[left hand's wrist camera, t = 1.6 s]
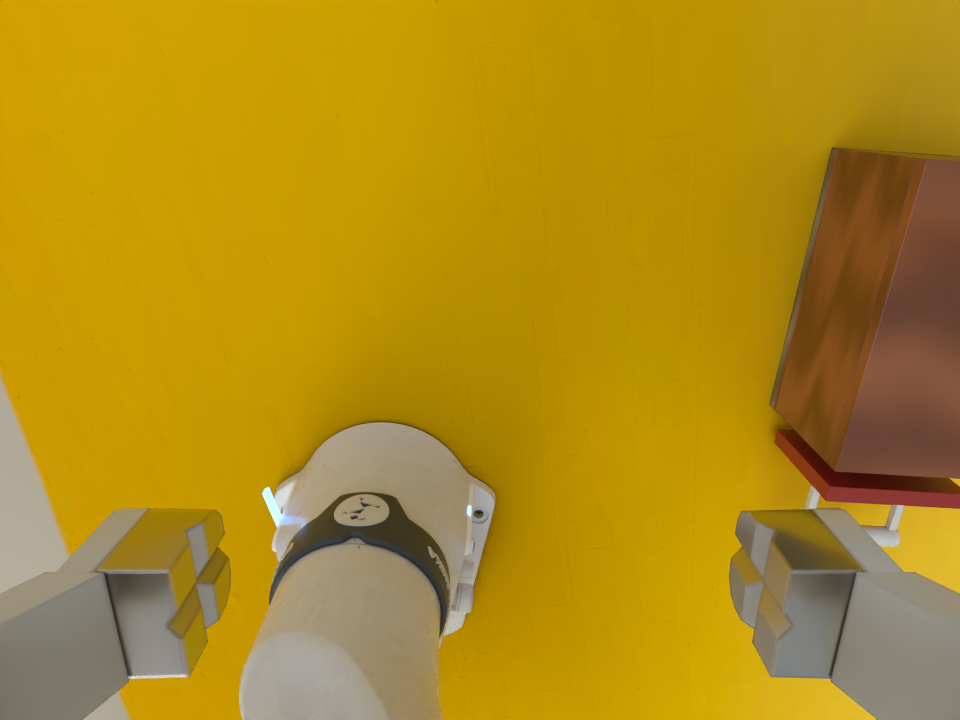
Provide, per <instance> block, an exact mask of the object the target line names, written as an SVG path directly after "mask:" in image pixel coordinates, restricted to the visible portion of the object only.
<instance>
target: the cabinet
mask: <svg viewBox="0 0 960 720" xmlns="http://www.w3.org/2000/svg"><path fill="white" fill-rule="evenodd" d="M770 406H771V407H772V408H773V409H775V410H776V411H777V412H778V413H779V414H780V415H781V416H782V417H783V418H784V420H785V421H786V422H787V423H788V424H789V425H790V426H791V427H792V428H793V429H794V430H795V431H796V432H797V433H798V434H799V435H800V436H801V437H802V438H803V439H804V440H805V441H806V442H807V443H808V444H809V445H810V446H811V447H812V448H813V449H814V450H815V451H816V452H817V453H818V454H819V455H820V457H821V458H822V459H823V460H824V461H825V462H826V463H827V464H829V466H830V467H831V468H832V469H833V470H834V471H836V472H853V473H870V474H887V475H905V476H922V477H939V478H957V479H960V156H946V155H932V154H917V153H903V152H888V151H873V150H859V149H844V148H832V150H831V154H830V159H829V163H828V167H827V171H826V175H825V179H824V183H823V187H822V191H821V196H820V200H819V204H818V208H817V212H816V216H815V220H814V224H813V228H812V233H811V237H810V241H809V245H808V249H807V253H806V257H805V261H804V265H803V269H802V274H801V278H800V282H799V286H798V290H797V294H796V298H795V302H794V306H793V311H792V315H791V319H790V323H789V327H788V331H787V335H786V339H785V343H784V347H783V352H782V356H781V360H780V364H779V368H778V372H777V376H776V380H775V384H774V389H773V393H772V397H771V401H770Z"/></svg>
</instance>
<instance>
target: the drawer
mask: <svg viewBox="0 0 960 720" xmlns="http://www.w3.org/2000/svg"><path fill="white" fill-rule="evenodd" d="M775 444H776V445H777V446H778V447H779V448H780V449H781V450H782V452H783V453H784V454H785V455H786V456H787V457H788V458H789V460H790V461H791V462H792V463H793V464H794V465H795V466H796V468H797V469H798V470H799V471H800V472H801V473H802V474H803V476H804V477H805V478H806V479H807V480H808V481H809V482H810V484H811V486H810V490H809V493H808V497H807V500H806V504H805V508H804V509H816V507H817V504H818V500H819V497H820V495H821V496H822V497H823V498H824V499H825V501H834V502H851V503H869V504H887V505H892V507H891V509H890V512H889V515H888V518H887V521H886V524H885V526H886V527H884V526H867V525H860V526H861V527H862V528H863V529H864V530H865V531H866V532H867V533H868V534H869V535H870V537H871V538H872V539H873V540H874V541H875V542H876V543H877V544H878V545H879V546H886V547H896V546H898V545H899V542H900V534H899V532H898V530H897V527H898V524H899V521H900V518H901V516H902V513H903V510H904V507H905V506H922V507H939V508H957V509H960V487H959V486H958V485H957V484H956V483H954V482H953V481H952V480H951V479H949V478H939V477H922V476H905V475H887V474H870V473H853V472H836V471H834V470H833V469H832V468H831V467H830V466H829V464H827V463H826V462H825V461H824V460H823V459H822V458H821V457H820V455H819V454H818V453H817V452H816V451H815V450H814V449H813V448H812V447H811V446H810V445H809V444H808V443H807V442H806V441H805V440H804V439H803V438H802V437H801V436H800V435H799V434H798V433H797V432H796V431H792V430H777V434H776V438H775Z"/></svg>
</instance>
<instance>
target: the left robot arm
mask: <svg viewBox="0 0 960 720" xmlns="http://www.w3.org/2000/svg"><path fill="white" fill-rule="evenodd" d="M262 494H263V496H264V499H265V501H266V503H267V505H268V508H269V510H270V512H271V514H272V517H273V519H274V521H275V523H276V526H277V530H276V533H275V535H274V538H273V542H272V550H273V551H275V552H276V555H277V559H278V562H279V563H278V565H277V568H276V571H275V573H274V574H275V575H274V577H273V582H272V586H271V590H270V596H269V608H268V611H267V613H266V615H265V618H264V620H263V623H262V625H261V627H260V630H259V632H258V634H257V637H256V639H255V641H254V644H253V646H252V648H251V651H250V653H249V655H248V658H247V660H246V662H245V665H244V668H243V671H242V675H241V680H240V688H239V705H240V711H241V716H242V720H444V717H443V714H442V710H441V704H440V696H439V677H438V653H439V648H440V647H441V645H442V641H443V637H444V636H445V635H448V634H450V633H453V632H455V631H457V630H458V629H460V628H461V627H462V625H463V623H464V619H465V616H466V613H468V612H469V613H470V611H471V607H472V602H473V594H474V582H475V578H476V575H477V571H478V567H479V563H480V560H481V556H482V552H483V548H484V545H485V541H486V537H487V533H488V530H489V526H490V522H491V519H492V515H493V511H494V507H495V501H496V496H495V493H494V491H493V490H492V489H491V488H490V487H489V486H487V485H486V484H484V483H483V482H481V481H480V480H478V479H476V478H475V477H473V476H471V475H470V474H469V473H468V472H466V470H465V469H464V468H463V467H462V465H461V464H460V463H459V461H458V460H457V458H456V457H455V456H454V455H453V453H452V452H451V451H450V450H449V449H448V448H447V447H446V446H445V445H443V444H442V443H441V442H440V441H438V440H437V439H435V438H434V437H432V436H431V435H429V434H427V433H425V432H423V431H421V430H419V429H416V428H413V427H410V426H406V425H402V424H397V423H389V422H374V423H366V424H361V425H356V426H353V427H350V428H347V429H345V430H343V431H341V432H339V433H337V434H335V435H334V436H332V437H330V438H329V439H328V440H327V441H325V442H324V443H323V444H322V445H321V446H320V447H319V448H318V449H317V450H316V451H315V453H314V454H313V456H312V457H311V458H310V460H309V461H308V463H307V464H306V466H305V467H304V468H303V469H302V470H301V471H300V472H298V473H296V474H295V475H293V476H291V477H289V478H288V479H286V480H285V481H283V482H282V483H281V484H280V485H279V486H278V487H277V489H276V492H275V495H274V498H273V496H272V493H271V491H270V489H269V488H265V490H264V491H263V493H262ZM476 510H481V511H483V512H482V513H480V514H478V513H475V511H476ZM224 535H225V531H224V526H223V521H222V516H221V515H220V514H219V513H218V512H217V511H216V510H200V509H150V508H125V509H119V510H115V511H113V512H112V513H111V514H110V515H109V516H108V517H107V519H106V520H105V521H104V522H103V523H102V524H101V525H100V526H99V527H98V528H97V529H96V530H95V531H94V532H93V533H92V534H91V536H90V537H89V538H88V539H87V540H86V541H85V542H84V543H83V544H82V545H81V546H80V547H79V548H78V549H77V550H76V551H75V553H74V554H73V555H72V556H71V557H70V558H69V559H68V560H67V561H66V562H65V563H64V564H63V565H62V566H61V567H60V568H59V570H58V571H57V572H45V573H43V574H41V575H39V576H37V577H34V578H32V579H30V580H28V581H26V582H24V583H22V584H20V585H18V586H15V587H13V588H11V589H9V590H7V591H5V592H3V593H1V594H0V720H83V719H84V718H85V717H86V716H88V715H89V714H90V713H91V712H93V711H94V710H95V709H96V708H98V707H99V706H100V705H101V704H102V703H104V702H105V701H106V700H107V699H109V698H110V697H111V696H112V695H113V694H115V693H116V692H117V691H119V690H120V689H121V688H122V687H123V686H125V685H126V684H127V683H128V682H129V679H134V678H168V677H190V675H191V673H192V671H193V669H194V667H195V665H196V663H197V661H198V659H199V658H200V656H201V654H202V652H203V650H204V648H205V646H206V644H207V642H208V640H207V634H206V628H208V627H209V626H211V625H212V624H214V623H215V622H217V621H218V620H219V619H220V617H221V615H222V613H223V611H224V609H225V607H226V604H227V600H228V595H229V591H230V584H231V570H230V563H229V558H228V557H227V556H226V555H225V553H224V552H223V551H222V550H221V549H220V548H219V547H218V545H219V543H220V541H221V540H222V538H223V536H224ZM735 535H736V536H737V538H738V540H739V541H740V543H741V545H742V547H741V548H740V549H739V550H738V551H737V552H736V553H735V555H734V556H733V557H732V558H731V564H730V572H729V581H730V592H731V597H732V600H733V604H734V607H735V609H736V611H737V613H738V615H739V617H740V619H741V620H742V621H743V622H745V623H746V624H748V625H749V626H751V627H752V628H754V634H753V640H752V642H753V644H754V646H755V648H756V650H757V652H758V654H759V656H760V658H761V659H762V661H763V663H764V665H765V667H766V669H767V671H768V673H769V675H770V676H771V677H790V678H826V679H831V682H832V683H833V684H834V685H836V686H837V687H838V688H839V689H841V690H842V691H843V692H844V693H845V694H847V695H848V696H849V697H850V698H852V699H853V700H854V701H855V702H857V703H858V704H859V705H860V706H861V707H863V708H864V709H865V710H866V711H868V712H869V713H870V714H871V715H872V716H874V717H875V718H876V719H877V720H960V594H959V593H957V592H955V591H953V590H951V589H949V588H947V587H945V586H942V585H940V584H938V583H936V582H934V581H932V580H930V579H928V578H926V577H923V576H921V575H919V574H917V573H915V572H903V571H902V570H901V568H900V567H899V566H898V565H897V564H896V563H895V562H894V561H893V560H892V559H891V558H890V557H889V556H888V555H887V554H886V552H885V551H884V550H883V549H882V548H881V547H880V546H879V545H878V544H877V543H876V542H875V541H874V540H873V539H872V538H871V537H870V535H869V534H868V533H867V532H866V531H865V530H864V529H863V528H862V527H861V526H860V525H859V524H858V523H857V522H856V521H855V519H854V518H853V517H852V516H851V515H850V514H849V513H848V512H847V511H845V510H842V509H840V508H822V509H802V510H758V511H741V513H740V515H739V518H738V520H737V525H736V531H735Z"/></svg>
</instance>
